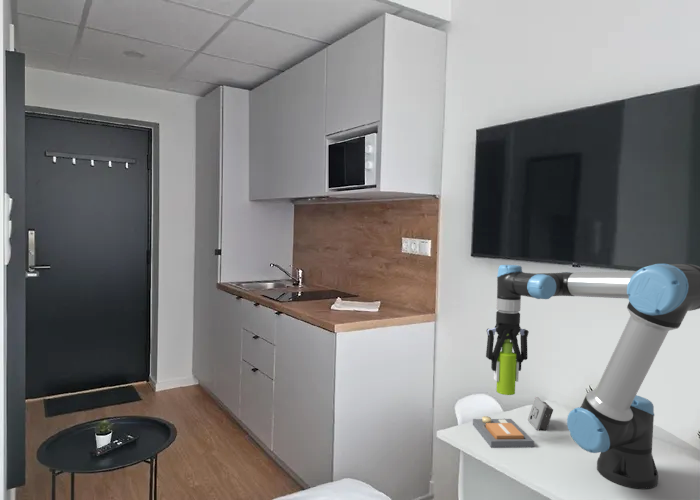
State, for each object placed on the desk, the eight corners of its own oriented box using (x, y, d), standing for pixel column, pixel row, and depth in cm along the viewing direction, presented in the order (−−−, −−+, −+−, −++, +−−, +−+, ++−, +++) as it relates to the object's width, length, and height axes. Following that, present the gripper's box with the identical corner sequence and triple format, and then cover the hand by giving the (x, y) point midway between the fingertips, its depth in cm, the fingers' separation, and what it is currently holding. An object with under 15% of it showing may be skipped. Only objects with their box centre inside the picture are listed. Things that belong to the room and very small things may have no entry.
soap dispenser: (521, 393, 157) (523, 333, 156) (504, 395, 154) (506, 334, 154) (509, 388, 162) (511, 330, 162) (492, 390, 160) (494, 331, 159)
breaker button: (523, 444, 154) (523, 434, 154) (496, 444, 154) (496, 435, 154) (510, 431, 164) (511, 422, 164) (485, 431, 164) (485, 422, 164)
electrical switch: (527, 420, 175) (530, 395, 174) (541, 422, 175) (544, 397, 174) (536, 431, 165) (539, 405, 165) (551, 433, 165) (554, 406, 165)
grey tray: (533, 447, 153) (534, 436, 152) (491, 447, 152) (491, 436, 151) (510, 424, 171) (511, 414, 170) (472, 424, 170) (473, 414, 169)
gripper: (530, 309, 162) (528, 376, 163) (476, 309, 161) (474, 376, 161) (541, 313, 154) (538, 383, 155) (484, 313, 153) (482, 383, 154)
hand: (505, 380), depth 158 cm, fingers closed on soap dispenser, 6 cm apart
